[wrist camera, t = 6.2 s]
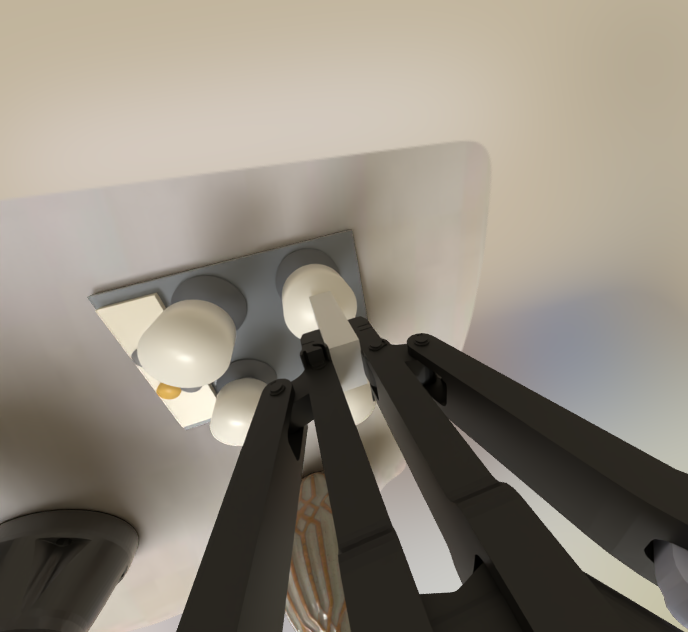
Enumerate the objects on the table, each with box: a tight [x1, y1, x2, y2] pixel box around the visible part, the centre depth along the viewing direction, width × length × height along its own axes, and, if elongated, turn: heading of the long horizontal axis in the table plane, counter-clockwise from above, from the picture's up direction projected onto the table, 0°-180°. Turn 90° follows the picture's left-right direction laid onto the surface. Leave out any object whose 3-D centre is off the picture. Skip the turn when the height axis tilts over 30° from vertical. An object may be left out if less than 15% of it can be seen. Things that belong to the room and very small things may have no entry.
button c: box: [344, 377, 376, 425], centre depth 24 cm, size 5×5×5 cm
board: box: [87, 230, 368, 430], centre depth 25 cm, size 22×16×2 cm
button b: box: [137, 300, 236, 388], centre depth 18 cm, size 5×5×5 cm
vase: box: [285, 472, 351, 632], centre depth 31 cm, size 13×13×18 cm
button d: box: [282, 264, 357, 339], centre depth 20 cm, size 5×5×5 cm
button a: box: [210, 377, 267, 446], centre depth 24 cm, size 5×5×5 cm
